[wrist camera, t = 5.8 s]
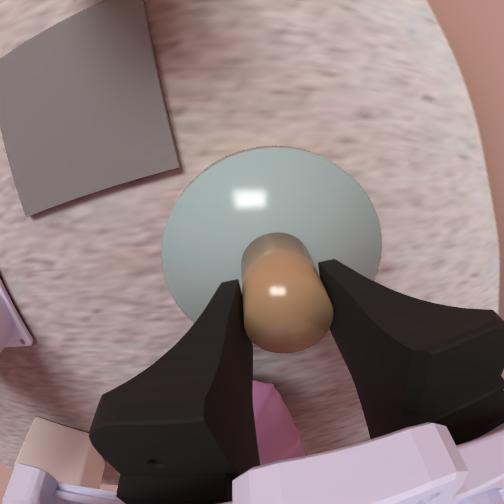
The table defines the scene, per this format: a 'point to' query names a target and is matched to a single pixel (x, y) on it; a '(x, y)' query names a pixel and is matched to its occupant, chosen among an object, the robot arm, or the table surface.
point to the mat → (84, 107)
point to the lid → (270, 240)
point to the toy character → (274, 426)
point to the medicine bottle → (62, 453)
